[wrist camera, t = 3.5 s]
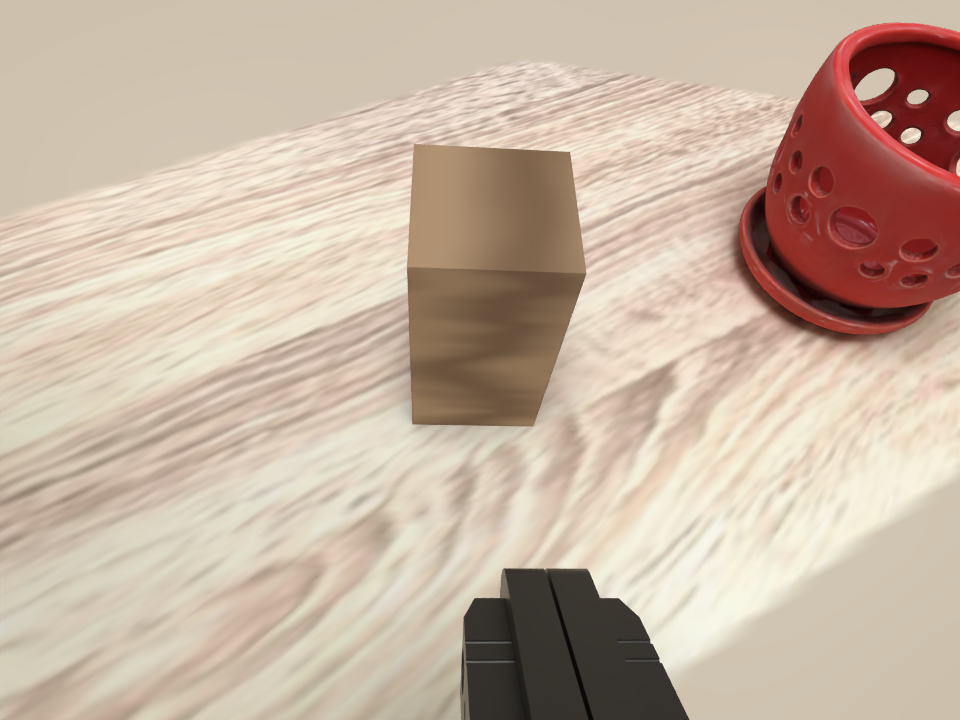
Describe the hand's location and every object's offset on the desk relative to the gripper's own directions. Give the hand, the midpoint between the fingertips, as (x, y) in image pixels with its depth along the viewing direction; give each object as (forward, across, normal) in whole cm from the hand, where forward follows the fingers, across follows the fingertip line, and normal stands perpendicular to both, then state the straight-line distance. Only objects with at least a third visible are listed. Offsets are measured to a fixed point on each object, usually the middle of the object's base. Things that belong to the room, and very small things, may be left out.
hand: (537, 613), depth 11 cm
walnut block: (+22, 0, +1) cm, 22 cm away
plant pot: (+28, -22, -4) cm, 36 cm away
